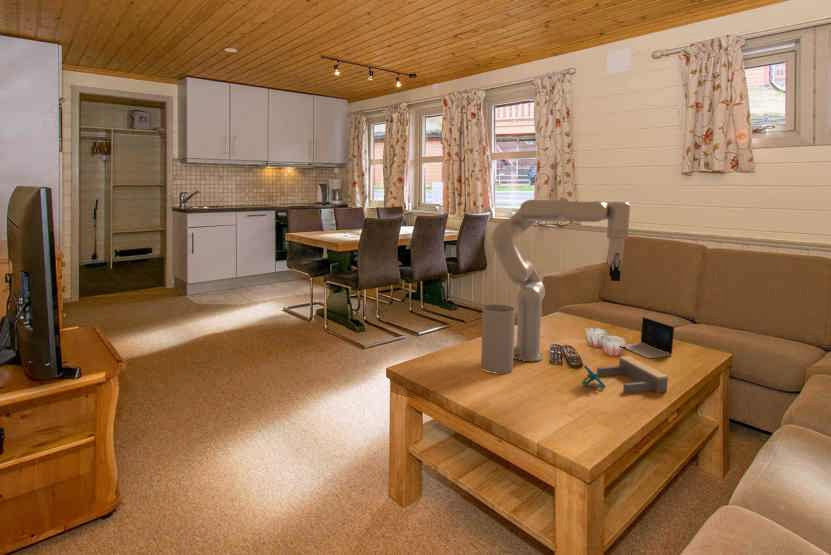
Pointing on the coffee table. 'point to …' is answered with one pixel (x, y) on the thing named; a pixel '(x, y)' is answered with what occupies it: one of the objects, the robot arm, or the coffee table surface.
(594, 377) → the gear
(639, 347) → the laptop
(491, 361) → the cylinder vase
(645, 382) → the gear bay
